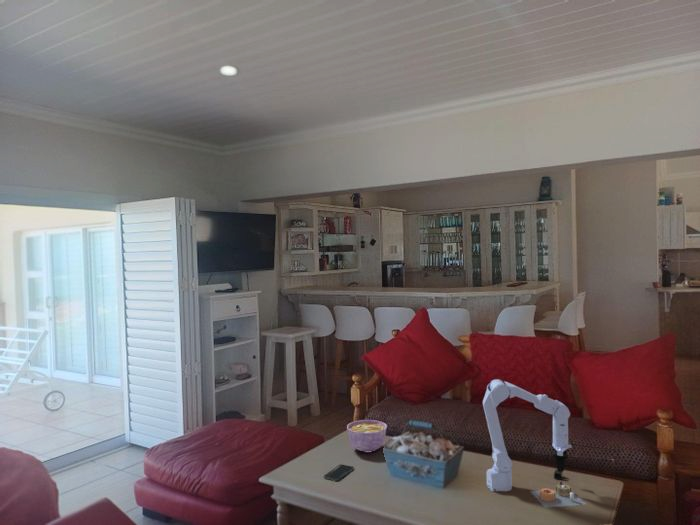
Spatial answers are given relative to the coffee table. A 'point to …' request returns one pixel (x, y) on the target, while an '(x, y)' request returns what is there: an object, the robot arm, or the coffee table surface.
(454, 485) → the coffee table surface
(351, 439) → the bowl of food
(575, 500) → the gear board
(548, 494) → the gear
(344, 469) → the phone
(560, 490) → the gear
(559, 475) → the black piece
